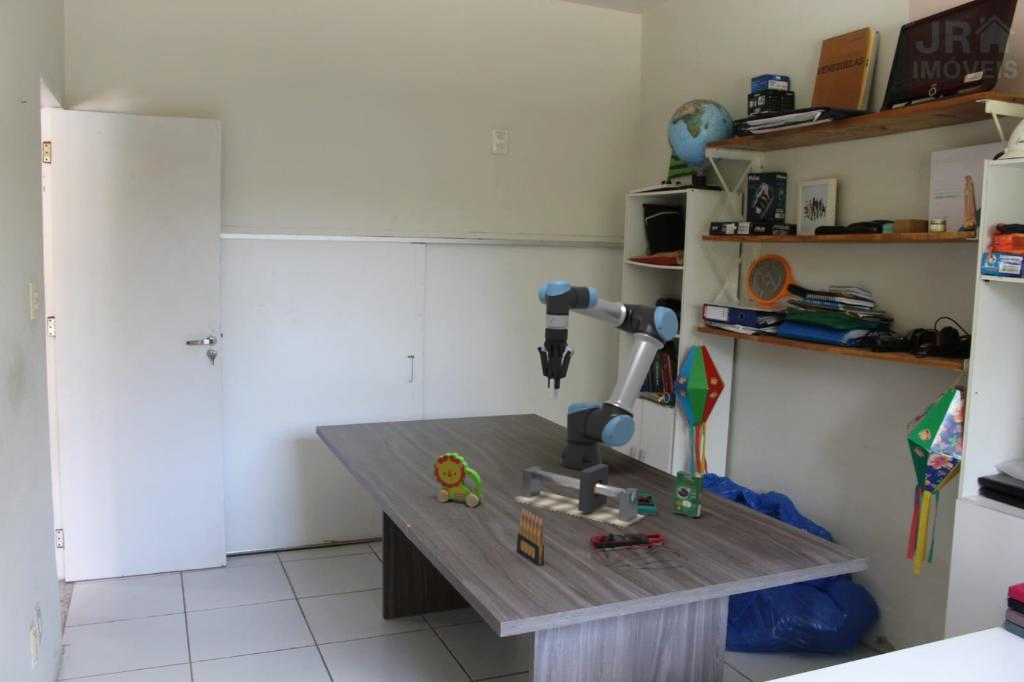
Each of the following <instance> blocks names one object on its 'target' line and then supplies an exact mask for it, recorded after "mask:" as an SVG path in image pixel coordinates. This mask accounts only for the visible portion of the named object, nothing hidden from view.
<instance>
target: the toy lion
mask: <svg viewBox="0 0 1024 682" xmlns="http://www.w3.org/2000/svg"><path fill="white" fill-rule="evenodd" d="M432 474H433V477H435V481H436V482H437V483H438V484H440V485H441V486H440V487H441V490H439V491H438V492H437V495H436V498H437V500H438V501H439V502H440V503H443V502H444V503H446V502H448V500H451V499H456V498H459V499H463V500H465V503H466V505H467V506H468V507H470V508H475V507H476V506H477V505H479V504H480V503H482V501H483V500H484V496H483V493H482V491H483V485H482V484H483V482H482V479H481V476H480V475H479V473H478V472H477V471H475V470H474V469H472V468H470V467H469V464H468V462H467V461H466V460H465V458H464V457H463V456H460V455H459V453H457V452H453V453H450V452H447V453H445V454H443V455H441V456H438V457H437V459H436V461H434V463H433V470H432ZM466 477H468V478H471V479H472V480H473V483H474V490H473V489H472V488H471V487H470V486H468V485H467V484H466V483H465V479H466Z"/></svg>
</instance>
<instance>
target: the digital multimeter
mask: <svg viewBox="0 0 1024 682" xmlns="http://www.w3.org/2000/svg"><path fill="white" fill-rule="evenodd" d="M637 513H653V514H657V515H658V508H657V506H656V502H655V497H654V496H653V495H652V494H647V493H638V508H637Z"/></svg>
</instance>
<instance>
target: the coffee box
mask: <svg viewBox="0 0 1024 682" xmlns="http://www.w3.org/2000/svg"><path fill="white" fill-rule="evenodd" d="M704 478H705V476H704V475H701V474H696V473H692V472H687V471H683V470H679V471H677V472H676V478H675V479H676V480H675V491H674V501H673V512H678V513H682V514H687V515H692V516H699V515H700V516H701V508H702V501H703V500H702V499H703V487H704Z"/></svg>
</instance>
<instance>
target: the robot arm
mask: <svg viewBox="0 0 1024 682" xmlns="http://www.w3.org/2000/svg"><path fill="white" fill-rule="evenodd" d="M537 295H538V300H539V303H541V304H543V305H544V306H545V307H546V308H545V310H546V311H545V326H546V328H545V329H544V340H545V341H544V343H543V345H541V346H538V347H537V350H538V353H539V357H540V363H541V369H542V375H543V376H544V377H546V378H547V388H548V389H549V394H548V395H549V396H548V397H549V399H551V400H556V399H558V394H559V393H558V392H559V391H558V390H560V388H561V379H565V378H566V377H567V373H568V370H569V367H570V361H571V358H572V356H573V355H574V354H575V351H574V350H573V349H571V348H570V347H569V345H568V339H569V338H568V336H569V329H568V327H569V321H570V320H569V318H570V312H572V313H576V314H579V315H581V316H586V317H588V318H591V319H594V320H598V321H601V322H604V323H607V324H608V325H609V327H612V328H615V329H617V330H620V331H622V332H625V333H628V334H630V335H633V338H634V343H633V346H632V347H631V350H630V351H629V354H628V356H627V359H626V361H625V363H624V366H623V368H622V371H621V372H620V375H619V377H618V380H617V382H616V384H615V386H614V389H613V391H612V394H611V395H610V398H609V399H608V400H605V401H604V402H603V403H602V405H601V404H600V403H599V402H591V401H590V402H576V403H570V405H568V409H567V413H566V414H567V415H566V419H567V420H566V441H565V446H564V448H563V451H562V452H561V453H562V454H561V456H560V465H561V466H562V467H564V468H568V469H571V468H572V469H573V470H578V469H580V470H579V471H582V470H584V469H587V468H590V467H592V466H595V465H597V464H600V463H601V464H603V459H602V455H601V451H600V447H599V444H600V443H601V444H603V445H605V446H608V447H616V448H620V447H623V446H625V445H627V444H628V443H629V442H630V441H631V439H632V438H633V436H634V434H635V430H636V427H635V426H636V425H635V421H634V412H633V408H634V405H635V403H636V401H637V398H638V395H639V394H640V391H641V389H642V386H643V384H644V382H645V380H646V378H647V375H648V373H649V371H650V368H651V367H652V363H653V361H654V359H655V356H656V355H657V351H658V350H661V349H663V348H664V346H665V344H666V342H668V341H672V340H673V339H674V338H675V337H676V336H677V333H678V329H679V321H678V318H677V315H676V313H675V312H674V310H673V309H671V308H669V307H664V306H660V305H659V306H658V305H657V306H656V305H655V306H654V305H648V304H634V303H623V302H621V301H615V302H612V301H609V300H605V299H603V298H599V294H598V291H597V290H596V288H594V287H592V286H586V285H585V286H577V285H571V282H570V281H568V280H552V279H551V280H549V281H548V282H547V283H545V284H543V285H541V287H540V288H539V290H538V294H537ZM564 354H565V355H564Z"/></svg>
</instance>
